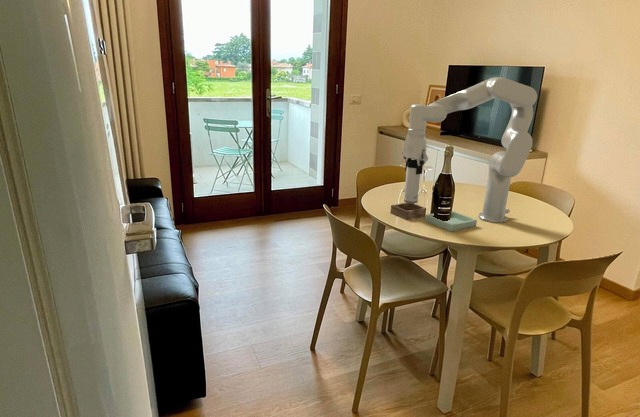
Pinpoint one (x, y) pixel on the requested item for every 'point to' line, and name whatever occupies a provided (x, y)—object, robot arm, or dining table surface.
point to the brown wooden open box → (408, 211)
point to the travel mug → (411, 182)
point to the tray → (452, 222)
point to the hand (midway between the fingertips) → (413, 172)
